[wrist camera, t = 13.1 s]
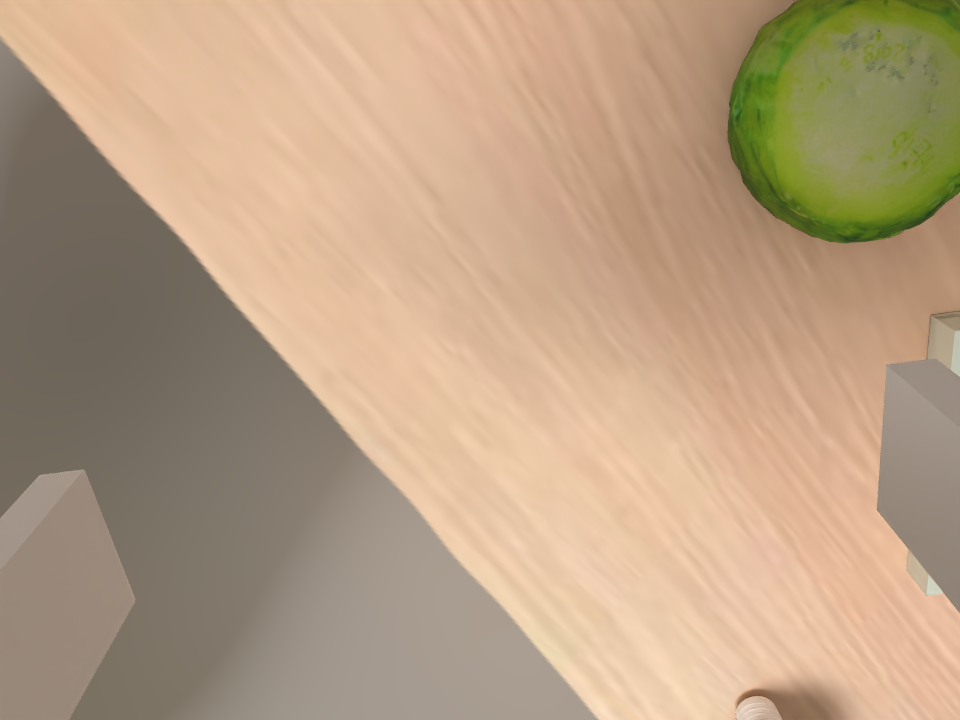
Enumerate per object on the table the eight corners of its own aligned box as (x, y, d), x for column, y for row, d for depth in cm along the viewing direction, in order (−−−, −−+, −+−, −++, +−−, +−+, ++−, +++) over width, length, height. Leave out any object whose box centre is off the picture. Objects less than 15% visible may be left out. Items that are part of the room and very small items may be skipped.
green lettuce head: (1020, 99, 37) (1097, 112, 32) (835, 275, 40) (881, 309, 36) (858, -86, 34) (917, -100, 29) (672, 120, 37) (700, 136, 33)
